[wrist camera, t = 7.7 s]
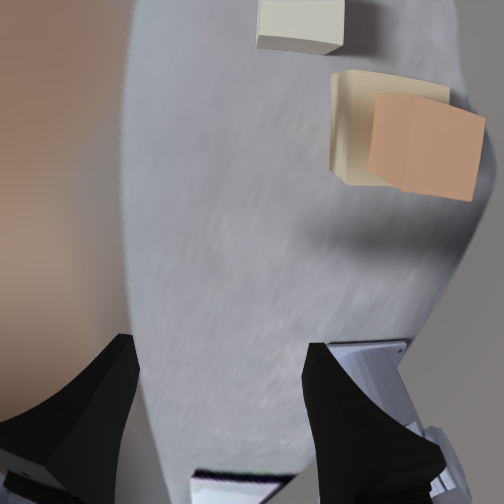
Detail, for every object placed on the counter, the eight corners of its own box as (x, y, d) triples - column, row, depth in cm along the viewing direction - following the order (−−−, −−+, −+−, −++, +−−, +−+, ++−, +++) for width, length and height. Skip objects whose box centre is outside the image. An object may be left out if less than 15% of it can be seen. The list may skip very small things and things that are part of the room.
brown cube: (429, 179, 16) (471, 201, 12) (367, 169, 15) (402, 191, 12) (439, 110, 14) (485, 118, 10) (376, 94, 14) (415, 94, 10)
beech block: (410, 172, 19) (441, 189, 16) (328, 168, 19) (348, 185, 16) (415, 86, 17) (449, 87, 13) (330, 75, 17) (351, 69, 13)
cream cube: (323, 55, 16) (343, 45, 12) (255, 48, 16) (259, 34, 12) (325, -1, 14) (344, -22, 11) (259, -9, 14) (263, -34, 10)
